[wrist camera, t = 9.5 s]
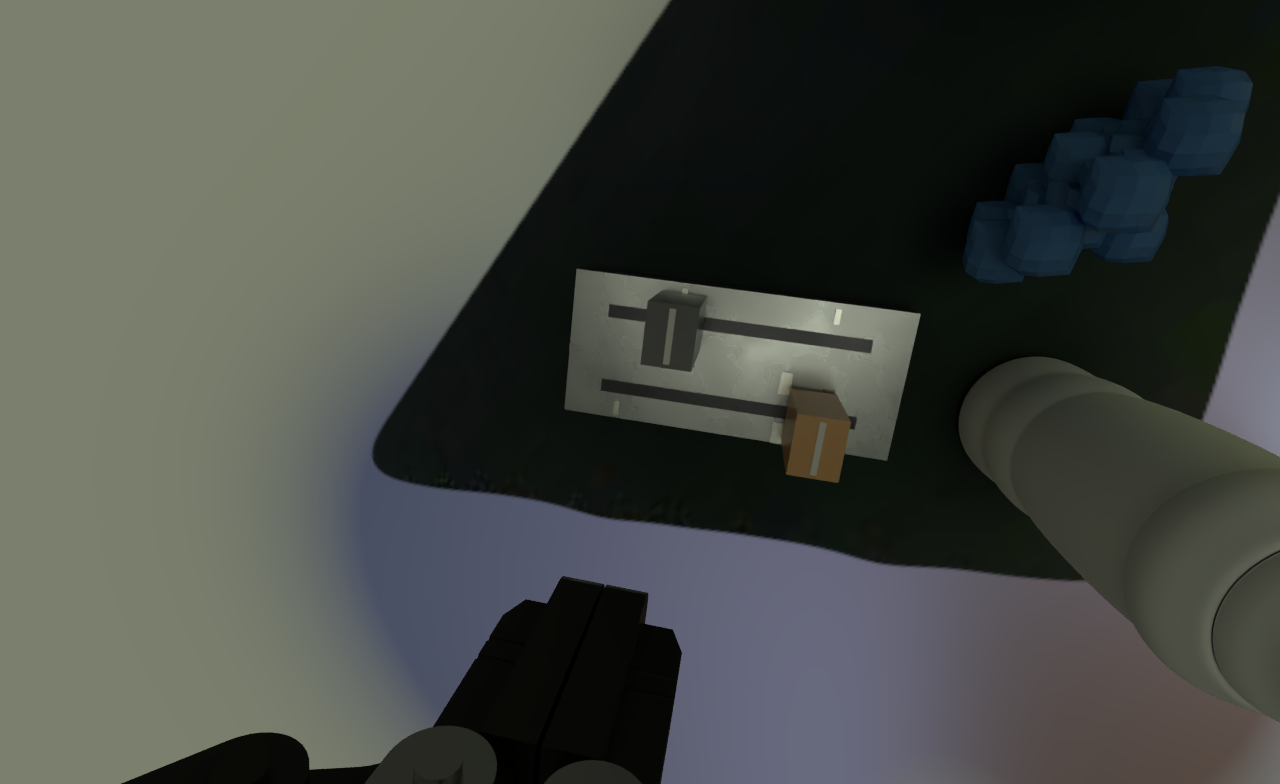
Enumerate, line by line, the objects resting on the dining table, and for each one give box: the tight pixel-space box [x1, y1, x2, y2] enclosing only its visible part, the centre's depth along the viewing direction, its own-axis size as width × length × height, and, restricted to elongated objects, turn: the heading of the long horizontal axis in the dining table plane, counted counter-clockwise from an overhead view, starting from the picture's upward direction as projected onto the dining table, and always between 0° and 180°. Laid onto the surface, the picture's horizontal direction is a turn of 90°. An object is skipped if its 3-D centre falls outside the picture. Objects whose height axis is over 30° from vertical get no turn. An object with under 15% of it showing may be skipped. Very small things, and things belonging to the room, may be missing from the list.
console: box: [565, 267, 920, 461], centre depth 36 cm, size 8×18×2 cm, turn 83°
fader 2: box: [781, 388, 851, 483], centre depth 32 cm, size 3×2×5 cm
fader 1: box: [640, 290, 707, 372], centre depth 32 cm, size 3×2×5 cm
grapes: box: [962, 66, 1253, 284], centre depth 27 cm, size 12×7×12 cm, turn 131°
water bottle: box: [959, 357, 1280, 722], centre depth 23 cm, size 7×7×25 cm
